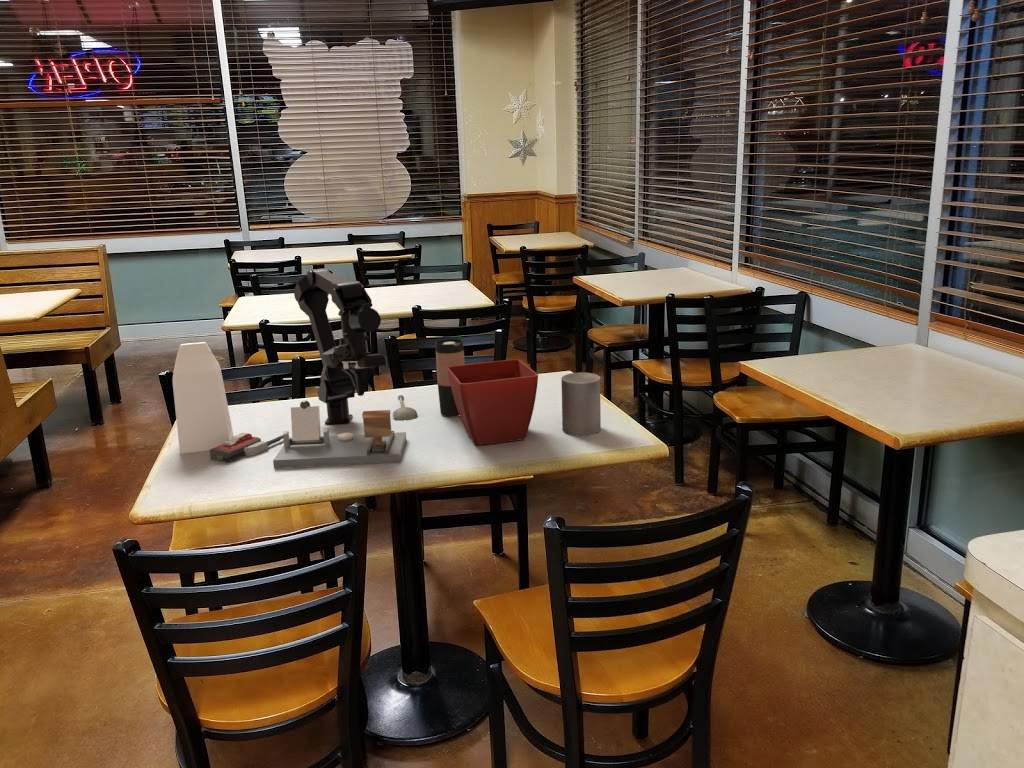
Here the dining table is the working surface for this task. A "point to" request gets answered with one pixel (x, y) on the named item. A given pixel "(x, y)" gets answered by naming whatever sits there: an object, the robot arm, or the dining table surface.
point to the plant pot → (494, 399)
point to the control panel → (340, 451)
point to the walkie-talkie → (240, 447)
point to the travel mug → (447, 355)
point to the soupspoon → (404, 412)
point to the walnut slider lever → (377, 427)
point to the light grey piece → (305, 425)
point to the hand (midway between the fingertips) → (360, 395)
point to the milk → (200, 399)
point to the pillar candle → (581, 404)
